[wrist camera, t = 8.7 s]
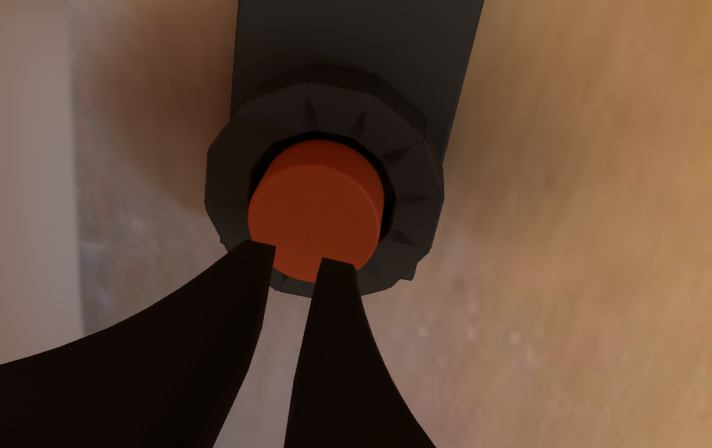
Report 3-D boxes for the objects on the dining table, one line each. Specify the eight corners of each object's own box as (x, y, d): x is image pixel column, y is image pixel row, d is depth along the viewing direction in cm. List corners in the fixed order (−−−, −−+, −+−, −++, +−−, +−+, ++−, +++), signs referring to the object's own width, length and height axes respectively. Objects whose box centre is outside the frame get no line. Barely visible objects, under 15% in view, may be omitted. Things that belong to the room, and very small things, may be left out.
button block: (414, 263, 20) (412, 319, 18) (228, 227, 20) (198, 277, 18) (500, -78, 16) (515, -71, 13) (257, -125, 16) (223, -128, 13)
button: (372, 259, 17) (367, 294, 16) (257, 236, 17) (241, 270, 16) (395, 151, 16) (391, 180, 14) (269, 127, 16) (252, 152, 14)
